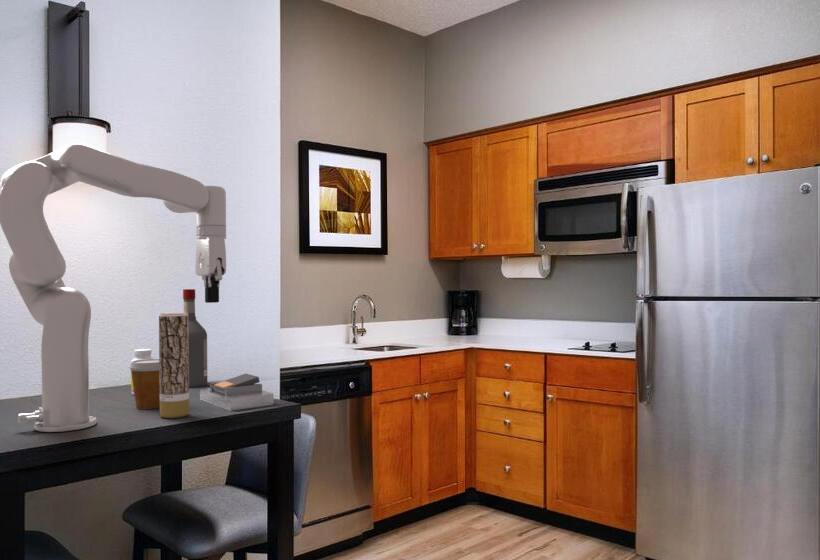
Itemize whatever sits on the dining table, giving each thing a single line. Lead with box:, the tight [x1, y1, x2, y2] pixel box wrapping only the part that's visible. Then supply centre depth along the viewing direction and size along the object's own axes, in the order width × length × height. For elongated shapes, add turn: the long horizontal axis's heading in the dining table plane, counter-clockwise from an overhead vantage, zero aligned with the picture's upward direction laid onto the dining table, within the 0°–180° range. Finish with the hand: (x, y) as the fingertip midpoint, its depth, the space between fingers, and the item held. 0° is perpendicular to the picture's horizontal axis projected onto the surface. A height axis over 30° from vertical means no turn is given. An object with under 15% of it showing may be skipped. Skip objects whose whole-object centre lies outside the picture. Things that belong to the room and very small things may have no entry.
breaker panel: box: [199, 381, 274, 412], centre depth 180 cm, size 12×20×5 cm, turn 39°
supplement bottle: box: [130, 348, 154, 396], centre depth 194 cm, size 7×7×13 cm
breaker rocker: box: [212, 373, 260, 394], centre depth 180 cm, size 10×8×2 cm
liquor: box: [182, 288, 208, 389], centre depth 209 cm, size 9×9×30 cm
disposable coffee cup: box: [129, 358, 160, 410], centre depth 174 cm, size 10×10×12 cm
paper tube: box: [158, 312, 190, 419], centre depth 163 cm, size 7×7×25 cm
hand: (212, 302), depth 177 cm, fingers closed
